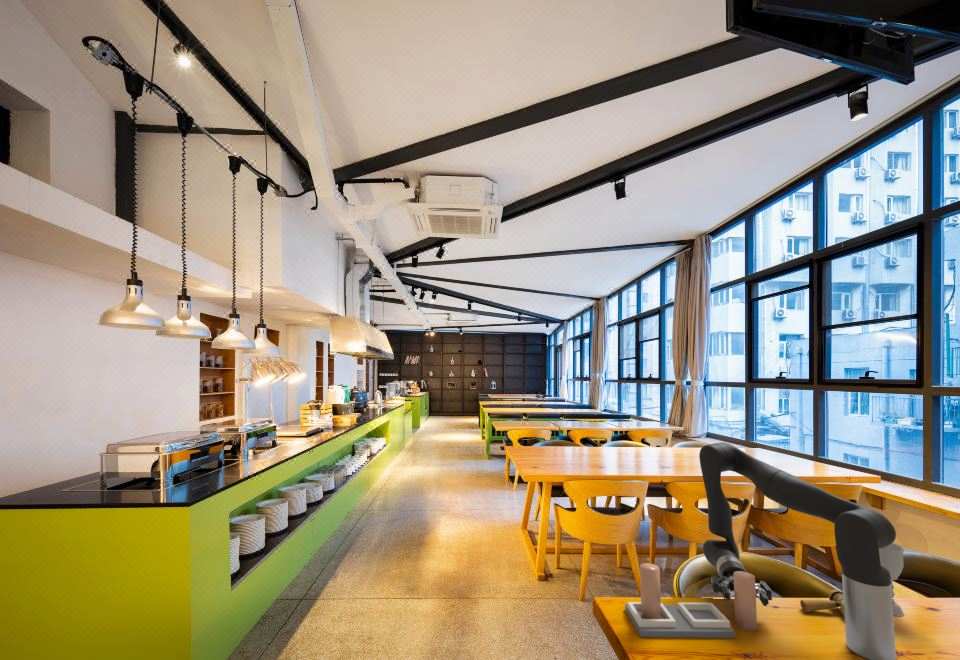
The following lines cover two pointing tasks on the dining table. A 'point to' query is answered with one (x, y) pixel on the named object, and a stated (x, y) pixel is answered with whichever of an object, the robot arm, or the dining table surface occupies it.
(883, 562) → the chalice
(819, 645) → the dining table surface
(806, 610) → the kendama
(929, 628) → the dining table surface
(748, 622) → the post
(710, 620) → the grey peg holder
